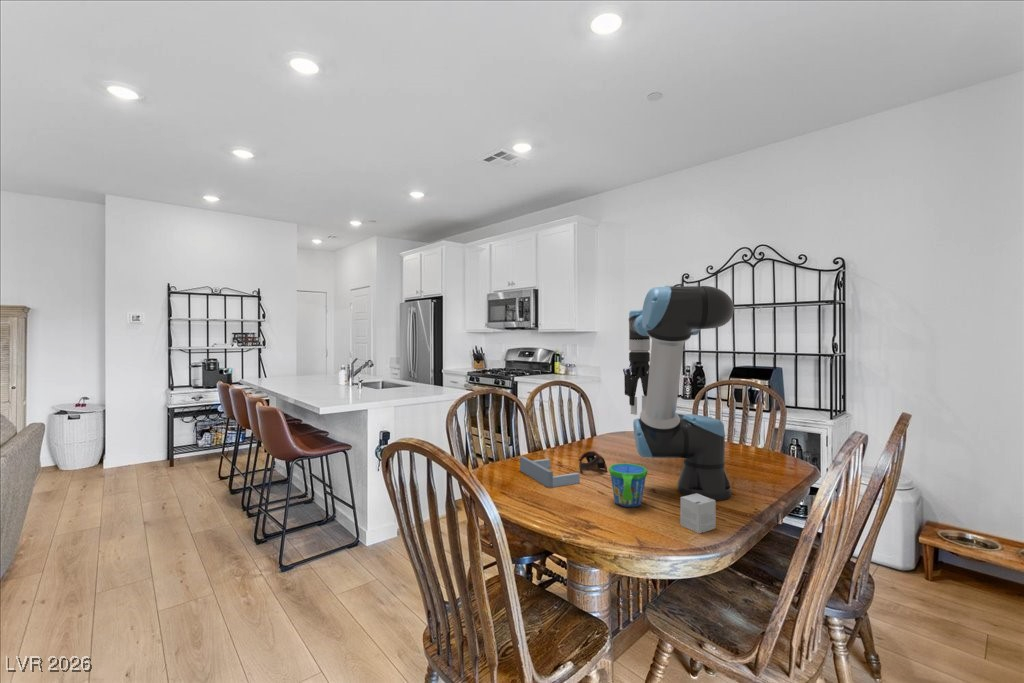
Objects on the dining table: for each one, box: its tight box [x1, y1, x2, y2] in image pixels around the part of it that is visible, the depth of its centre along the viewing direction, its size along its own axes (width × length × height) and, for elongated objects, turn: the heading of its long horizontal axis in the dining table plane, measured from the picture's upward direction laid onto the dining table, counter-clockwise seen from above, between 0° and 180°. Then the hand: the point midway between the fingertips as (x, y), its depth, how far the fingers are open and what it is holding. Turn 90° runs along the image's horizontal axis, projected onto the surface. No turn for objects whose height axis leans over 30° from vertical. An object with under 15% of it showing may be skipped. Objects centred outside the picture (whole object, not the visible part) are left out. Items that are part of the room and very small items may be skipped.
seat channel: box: [519, 456, 581, 489], centre depth 163 cm, size 12×21×5 cm, turn 25°
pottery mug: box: [578, 450, 609, 473], centre depth 170 cm, size 12×10×8 cm
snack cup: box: [608, 462, 648, 508], centre depth 136 cm, size 16×10×10 cm
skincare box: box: [679, 493, 717, 534], centre depth 120 cm, size 6×6×7 cm
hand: (639, 413), depth 179 cm, fingers open, 4 cm apart
